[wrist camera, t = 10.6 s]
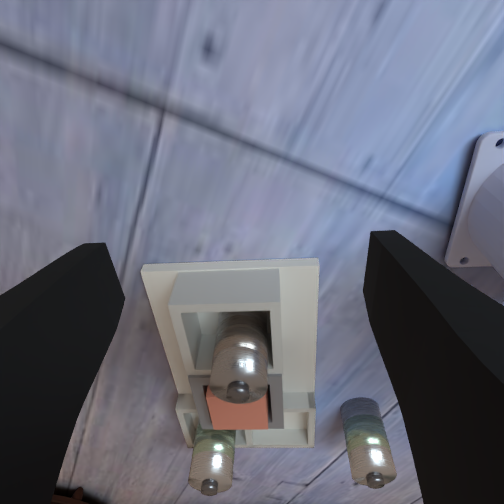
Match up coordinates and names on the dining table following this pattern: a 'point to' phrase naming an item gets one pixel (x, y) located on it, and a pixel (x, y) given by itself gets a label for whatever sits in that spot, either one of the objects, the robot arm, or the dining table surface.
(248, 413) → the pad
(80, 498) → the wooden thread spool stand
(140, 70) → the dining table surface
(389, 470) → the cell
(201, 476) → the cell
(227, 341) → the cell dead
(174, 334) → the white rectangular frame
